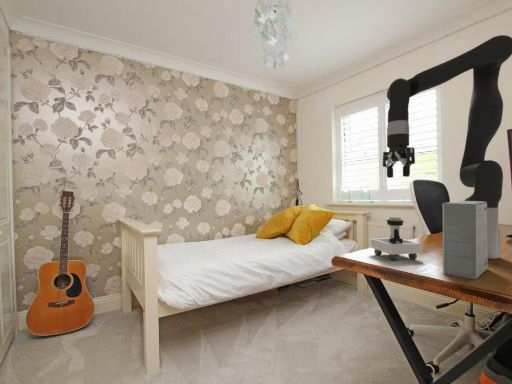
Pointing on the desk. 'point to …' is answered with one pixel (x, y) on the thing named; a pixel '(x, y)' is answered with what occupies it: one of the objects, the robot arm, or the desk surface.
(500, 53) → the robot arm
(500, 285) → the desk surface
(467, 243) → the hard drive box
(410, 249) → the parts trolley
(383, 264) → the desk surface
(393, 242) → the push button
